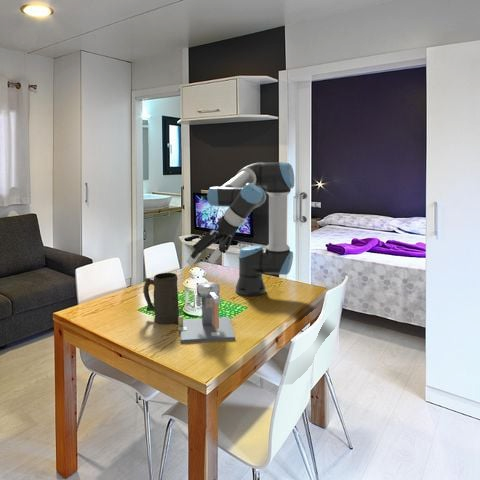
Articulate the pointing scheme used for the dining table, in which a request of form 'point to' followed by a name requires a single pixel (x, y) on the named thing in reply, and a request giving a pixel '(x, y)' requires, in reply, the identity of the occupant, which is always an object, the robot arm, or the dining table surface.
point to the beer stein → (163, 297)
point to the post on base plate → (205, 328)
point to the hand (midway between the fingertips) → (200, 263)
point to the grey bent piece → (210, 299)
